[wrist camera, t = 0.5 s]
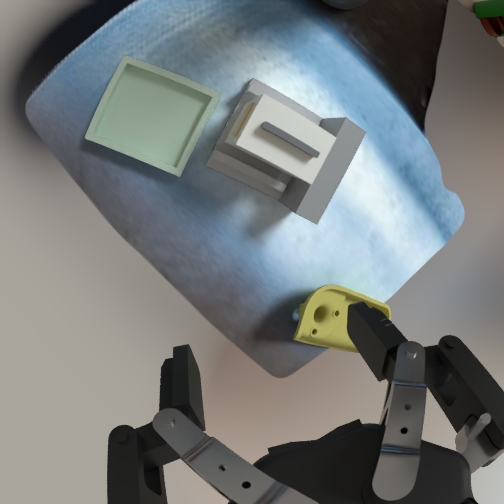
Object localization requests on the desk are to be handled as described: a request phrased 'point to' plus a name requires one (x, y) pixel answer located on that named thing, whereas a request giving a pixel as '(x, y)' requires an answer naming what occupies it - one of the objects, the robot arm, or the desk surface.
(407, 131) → the desk surface
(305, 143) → the labeled white box
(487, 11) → the motor
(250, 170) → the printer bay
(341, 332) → the plastic component
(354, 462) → the robot arm
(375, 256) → the desk surface
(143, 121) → the tray
